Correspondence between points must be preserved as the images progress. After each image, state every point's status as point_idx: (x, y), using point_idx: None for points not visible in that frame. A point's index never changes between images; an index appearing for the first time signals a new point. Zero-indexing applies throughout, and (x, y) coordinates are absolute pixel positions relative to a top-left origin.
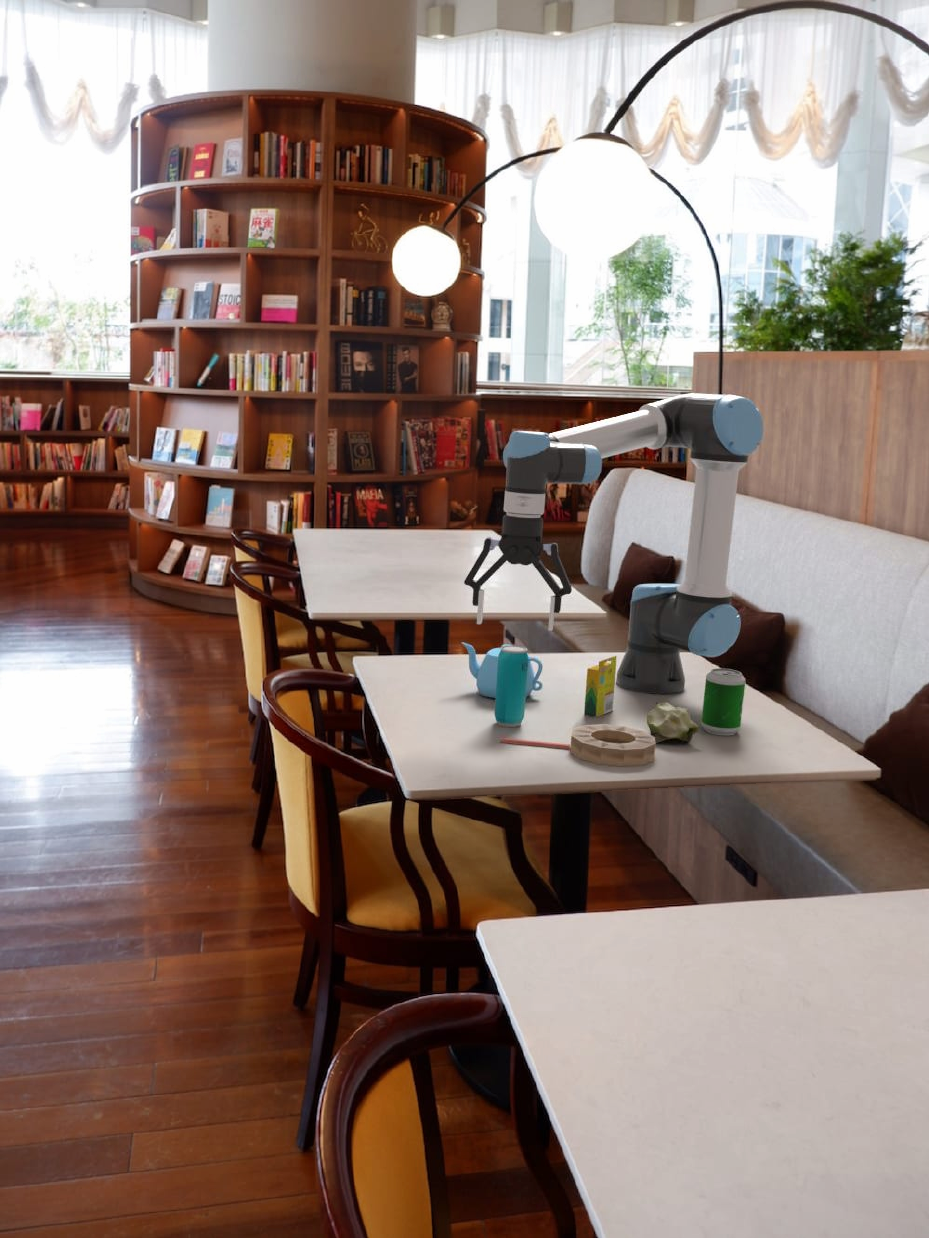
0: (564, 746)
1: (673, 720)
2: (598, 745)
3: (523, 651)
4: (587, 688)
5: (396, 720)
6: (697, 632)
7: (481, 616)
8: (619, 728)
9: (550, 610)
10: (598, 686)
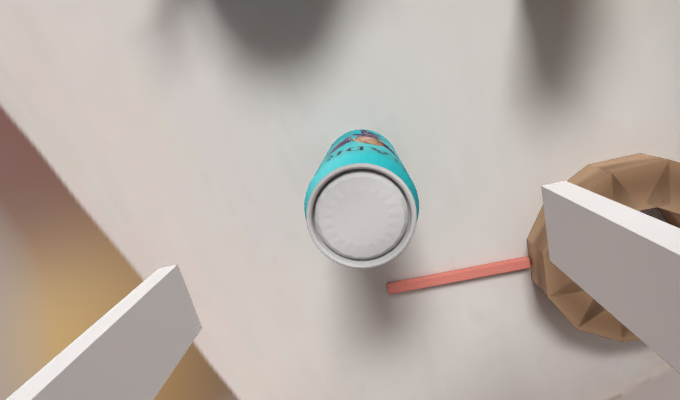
0: (518, 268)
1: None
2: (614, 331)
3: (409, 241)
4: None
5: (155, 262)
6: None
7: (179, 335)
8: (656, 186)
9: (631, 326)
10: None
